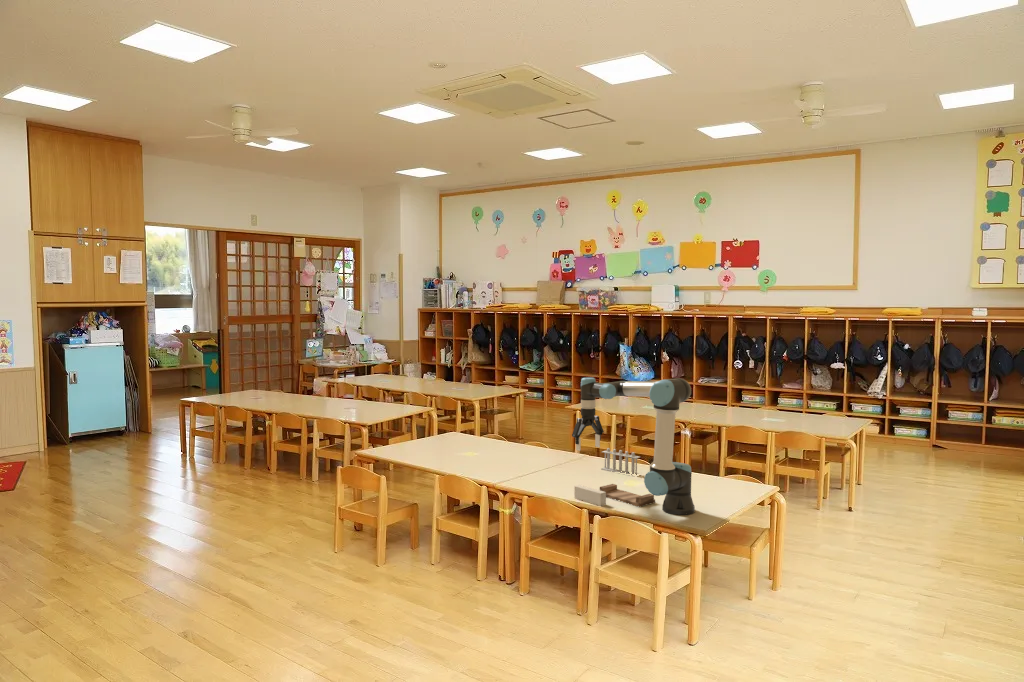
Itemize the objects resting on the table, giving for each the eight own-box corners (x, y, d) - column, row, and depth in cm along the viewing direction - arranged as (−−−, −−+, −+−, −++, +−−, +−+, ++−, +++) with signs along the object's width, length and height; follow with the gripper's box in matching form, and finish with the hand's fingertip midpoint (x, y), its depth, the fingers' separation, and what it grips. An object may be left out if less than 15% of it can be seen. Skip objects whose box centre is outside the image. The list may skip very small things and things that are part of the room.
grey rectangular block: (605, 505, 351) (605, 492, 351) (600, 506, 349) (600, 493, 348) (579, 497, 365) (580, 484, 365) (574, 498, 362) (574, 486, 362)
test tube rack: (640, 475, 410) (640, 453, 409) (636, 476, 407) (636, 454, 406) (605, 468, 428) (605, 446, 427) (601, 469, 424) (601, 447, 424)
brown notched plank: (655, 502, 354) (655, 494, 354) (639, 506, 347) (639, 498, 347) (614, 490, 376) (614, 483, 376) (598, 494, 369) (598, 487, 369)
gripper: (600, 404, 374) (600, 444, 375) (565, 409, 359) (565, 450, 360) (610, 406, 368) (610, 446, 369) (575, 410, 353) (575, 453, 354)
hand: (588, 448), depth 365 cm, fingers open, 13 cm apart
